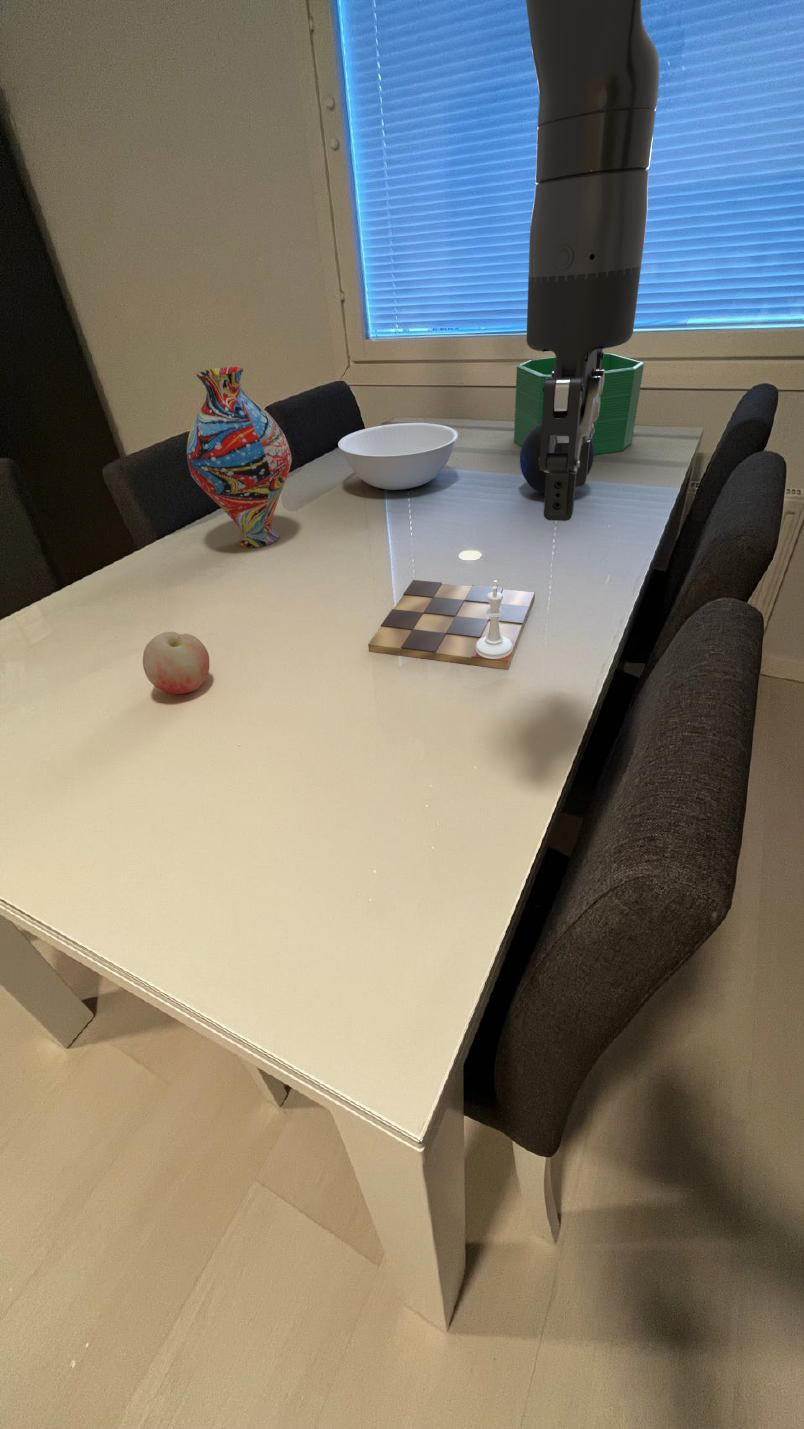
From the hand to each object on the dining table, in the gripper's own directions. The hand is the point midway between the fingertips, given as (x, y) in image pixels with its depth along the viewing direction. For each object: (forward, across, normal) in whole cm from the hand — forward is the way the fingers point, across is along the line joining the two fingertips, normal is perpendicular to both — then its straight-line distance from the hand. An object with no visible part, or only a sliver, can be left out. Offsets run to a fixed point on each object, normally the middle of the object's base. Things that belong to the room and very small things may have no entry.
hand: (565, 501), depth 51 cm
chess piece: (+26, +15, +10) cm, 32 cm away
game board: (+27, +23, +18) cm, 39 cm away
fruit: (+26, -2, +49) cm, 55 cm away
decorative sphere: (+27, +81, +13) cm, 86 cm away
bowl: (+26, +83, +48) cm, 99 cm away
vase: (+26, +46, +66) cm, 84 cm away
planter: (+26, +120, +14) cm, 123 cm away
